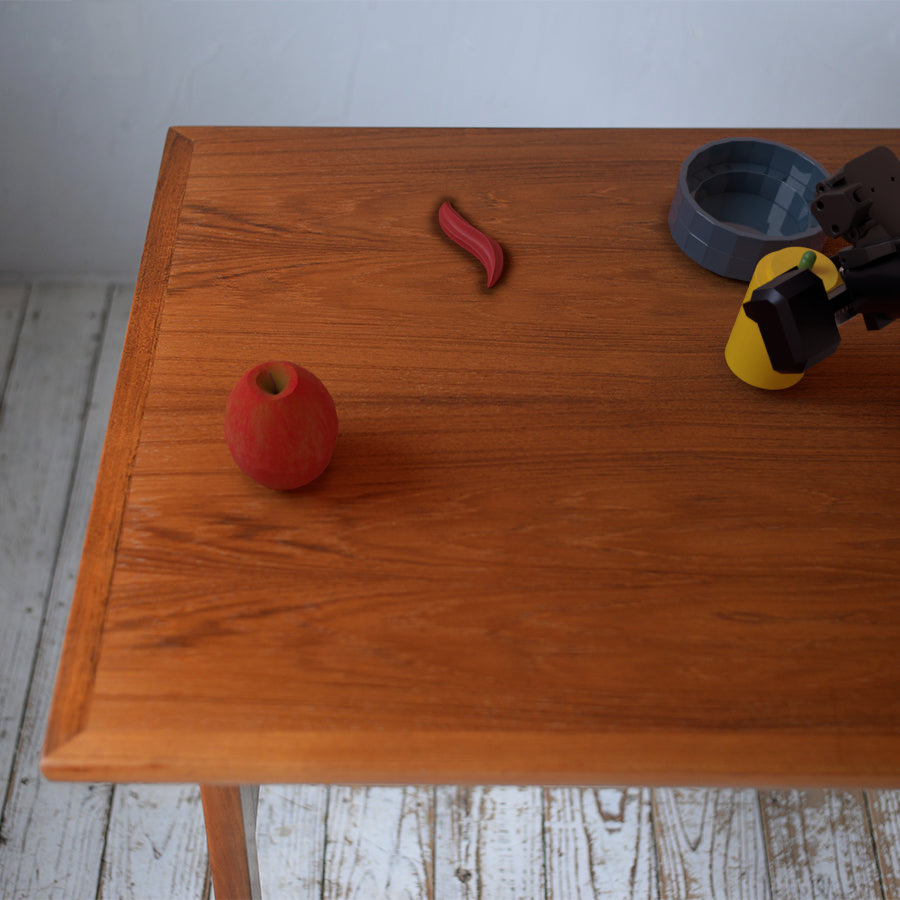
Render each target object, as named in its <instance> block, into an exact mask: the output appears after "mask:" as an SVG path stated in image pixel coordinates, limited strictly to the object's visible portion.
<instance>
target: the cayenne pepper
mask: <svg viewBox="0 0 900 900" xmlns="http://www.w3.org/2000/svg"><path fill="white" fill-rule="evenodd" d="M438 222H439V225H440V227H441V229H442V231H443V232H444V233H445V235H446V236H448V238H449V239H451V241H453V242H454V243H455V244H457V245H458V246H460V248H463V249H464V250H465V251H467V252H468V253H470V254H471V255H473V256H474V257H475V258H476V259H477V260H479V262H480V263H481V264H482V265H483V266H484V268H485V270H486V273H487V285H486V286H487V289H490V288H492V287H493V286H495V284H496V283H497V282H498V281H499V279H500V277H501V275H502V273H503V270H504V253H503V249H502V247H501V245H500V243H498V241H496V240H495V239H494V238H493V237H491V236H489V235H487V234H485V233H483V232H482V231H480V230H479V229H476V228H475V227H474V226H473V225H472V224H471V223H469V222H468V221H467V220H466V219H464V217H462V215H460V213H458V212H457V211H456V210H455V208H453V207H452V205H451V203H450V201H449V200H446V201H445V202H444V203H442V205H441V206H440V208H439V210H438Z"/></svg>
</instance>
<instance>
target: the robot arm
mask: <svg viewBox="0 0 900 900" xmlns="http://www.w3.org/2000/svg"><path fill="white" fill-rule="evenodd" d="M830 175H831V176H830V177H828V178H827V179H825V180H823V181H821V182H819V183H818V184H817V185H816V189H815V192H814V197H815V200H813V201H812V203H811V212H812V214H813V216H814V217H815V219H816V220H817V222H818V223H819V225H820V226H821V228H822V229H823V231H824V232H825V234H826V235H827V236H828V239H832V240H836V239H839V238H842V239H843V240H844V241H845V242H846V243H848V244H849V246H848V245H847V246H844V247H843V248H841V249H839V250H837V253H835V254H833V255H831V256H829V257H827V258H828V259H830V260H831V261H832V263H833V264H834V265H835V267H836V269H837V271H838V272H839V274H840V276H841V279H842V281H843V284H841V285H839V286H838V287H836V288H834V289H832V290H831V291H829V292H827V293H826V289H825V286H824V283H823V280H822V279H821V278H820V277H819V276H817V275H816V274H815V273H813V272H812V271H811V270H809V269H808V268H805V269H798V266H797V265H796V266H794V267H793V268H791V269H789V270H787V271H786V272H784V273H782V274H780V275H779V276H777V277H775V278H773V279H772V280H771V281H769V282H767V283H765V284H764V285H762V286H760V287H758V288H756V289H755V290H753V292H752V295H751V299H750V301H747V302H745V303H743V302H742V303H743V309H744V312H745V315H746V316H747V317H748V318H749V319H751V320H753V321H754V322H756V323H757V324H758V327H759V330H760V333H761V336H762V339H763V342H764V345H765V348H766V351H767V354H768V357H769V360H770V362H771V365H772V368H773V370H774V371H776V372H778V373H780V374H802V373H803V372H805V373H806V371H808V370H810V369H812V368H813V367H815V366H816V365H818V364H820V363H821V362H822V361H824V360H826V359H827V358H829V357H831V356H832V355H834V354H835V353H836V352H837V350H838V348H839V346H840V344H841V342H842V336H841V333H840V331H839V327H841V326H843V325H844V324H845V323H847V322H848V321H850V320H853V319H854V318H855V317H857V316H858V315H862V318H863V321H864V325H865V327H866V331H867V332H875V331H881V330H882V329H884V328H885V327H887V326H889V325H891V324H892V323H893V322H895V321H896V320H900V160H899V158H898V157H897V155H896V154H895V152H894V151H893V150H891V149H890V148H889V147H887V146H884V145H879V146H876V147H874V148H872V149H870V150H868V151H866V152H864V153H862V154H861V155H859V156H857V157H855V158H853V159H851V160H849V161H847V162H846V163H844V164H843V165H842V166H841V167H840V168H839V169H837V170H836V171H835V172H833V173H832V174H830Z"/></svg>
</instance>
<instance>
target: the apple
mask: <svg viewBox="0 0 900 900" xmlns="http://www.w3.org/2000/svg"><path fill="white" fill-rule="evenodd" d="M339 424H340V423H339V418H338V413H337V409H336V403H335V400H334V398H333V396H332V395H331V393H330V392H329V390H328V388H327V386H326V385H325V384H324V383H323V382H322V381H321V379H320V378H318V377H317V375H315V374H314V373H313V372H312V371H309V369H306V368H305V367H303V366H301V365H299V364H296V363H295V362H291V361H290V360H271V359H269V360H267V361H264V362H261V363H259V364H257V365H255V366H253V367H252V368H250V369H249V370H248V371H246V372H245V373H243V375H242V376H241V377H240V378H239V379H238V381H236V383H235V385H234V387H233V388H232V390H231V391H230V394H229V396H228V398H227V399H226V405H225V413H224V420H223V428H222V429H223V433H224V434H223V435H224V438H225V439H224V440H225V443H226V445H227V447H228V450H229V452H230V455H231V457H232V460H233V461H234V462H235V464H236V465H237V466H238V468H239V470H241V471H242V472H243V473H244V474H246V475H247V476H248V477H250V478H251V479H252V480H253V481H254V482H255V483H257V484H258V485H260V486H263V487H265V488H266V489H270V490H279V491H283V490H295V489H298V488H300V487H303V486H306V485H308V484H310V483H311V482H312V481H314V480H316V478H318V477H319V476H321V475H322V474H323V473H324V471H325V470H326V469H327V467H328V466H329V465H330V462H331V460H332V458H333V454H334V452H335V449H336V445H337V440H338V436H339V435H338V433H339Z"/></svg>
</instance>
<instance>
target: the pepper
mask: <svg viewBox="0 0 900 900" xmlns="http://www.w3.org/2000/svg"><path fill="white" fill-rule="evenodd" d="M828 258H829V257H827V256H826V255H824V253H822V252H821V253H819V252H817V251H815V250H812V249H808V248H803V247H789V248H785V249H782V250H780V251H776V252H773V253H770V254H768V255H766V256H765V257H764V258H762V259H761V260H760V261H759V263H758V265H757V267H756V269H755V272H754V275H753V277H752V280H751V282H750V281H749V284H748V285H749V286H748V288H747V290H746V294H745V296H744V298H743V300H742V303H741V306H740V308H739V311H738V314H737V316H736V319H735V322H734V324H733V327H732V330H731V332H730V335H729V337H728V339H727V342H726V345H725V349H724V358H725V361H726V363H727V366H728V368H729V369H730V370H731V372H732V373H733V374H734V375H735V376H736V377H737V378H738V379H739V380H741V381H743V382H745V383H746V384H748V385H750V386H753V387H755V388H759V389H764V390H769V391H770V390H777V391H778V390H783V389H787V388H790V387H792V386H794V385H796V384H797V383H799V382H800V381H801V380H802V378H803V377H804V375H805V374H806V371H805V372H803V373H802V374H780V373H778V372H776V371H774V370H773V368H772V365H771V362H770V360H769V357H768V354H767V351H766V348H765V345H764V342H763V339H762V336H761V333H760V330H759V327H758V324H757V323H756V322H754V321H753V320H751V319H749V318H748V317H747V316H746V315H745V312H744V309H743V303H745V302H747V301H750V299H751V295H752V292H753V290H755V289H756V288H758V287H760V286H762V285H764V284H765V283H767V282H769V281H771V280H772V279H773V278H775V277H777V276H779V275H780V274H782V273H784V272H786V271H787V270H789V269H791V268H793V267H794V266H796V265H797V266H798V269H805V268H808V269H809V270H811V271H812V272H813V273H815V274H816V275H817V276H819V277H820V278H821V279H822V280H823V283H824V286H825V289H826V293H827V292H829V291H831V290H832V289H834V288H836V287H838V286H839V285H841V284H843V281H842V279H841V276H840V274H839V272H838V271H837V269H836V267H835V265H834V264H833V263H832V261H831V260H830V259H828Z"/></svg>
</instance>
